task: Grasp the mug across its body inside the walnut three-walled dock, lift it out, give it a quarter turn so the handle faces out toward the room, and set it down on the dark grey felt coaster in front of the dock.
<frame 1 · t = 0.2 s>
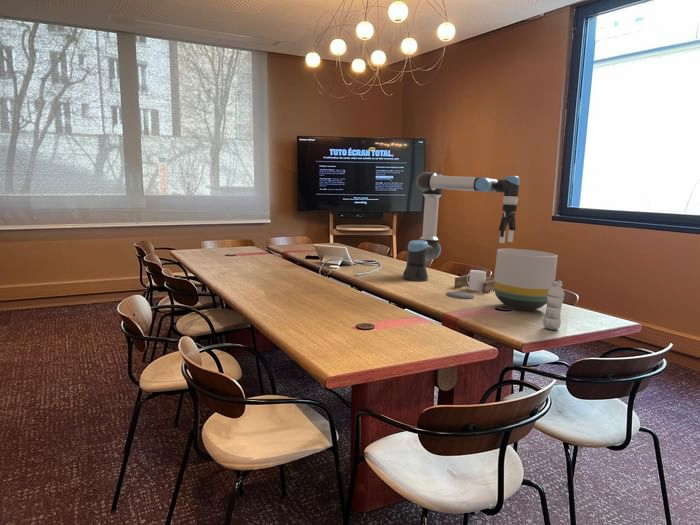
hand: (505, 242, 264), 27 cm above the table, fingers open, 13 cm apart
dock: (474, 289, 265), on the table
planter: (520, 308, 225), on the table
coaster: (460, 295, 245), on the table
plastic bottle: (551, 329, 191), on the table
mug: (474, 289, 265), on the table
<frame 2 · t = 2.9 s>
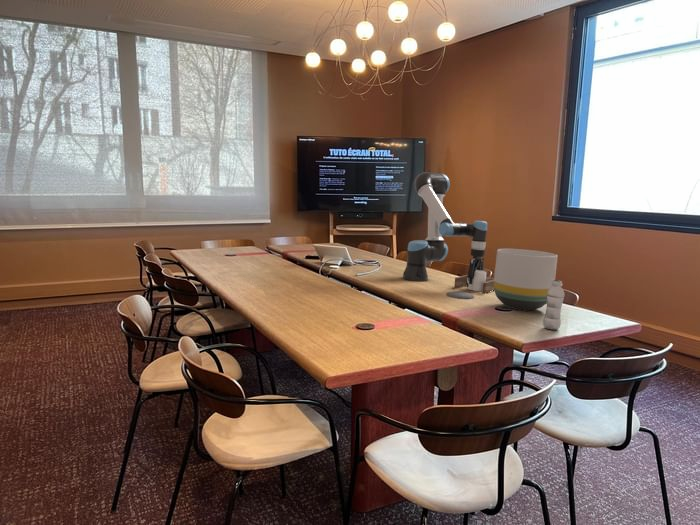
hand: (474, 288, 264), 1 cm above the table, fingers open, 9 cm apart
mug: (474, 289, 265), on the table, touching gripper
everything else where it was.
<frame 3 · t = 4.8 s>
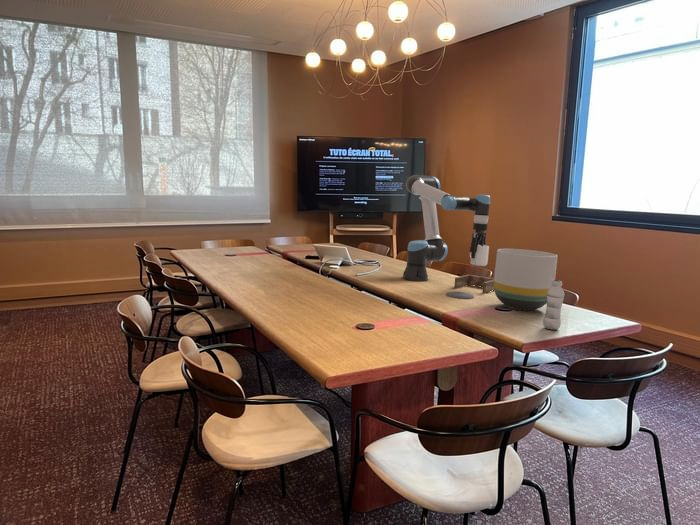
hand: (476, 263, 263), 15 cm above the table, fingers closed on mug, 9 cm apart
mug: (476, 264, 263), point 14 cm above the table, touching gripper
everything else where it was.
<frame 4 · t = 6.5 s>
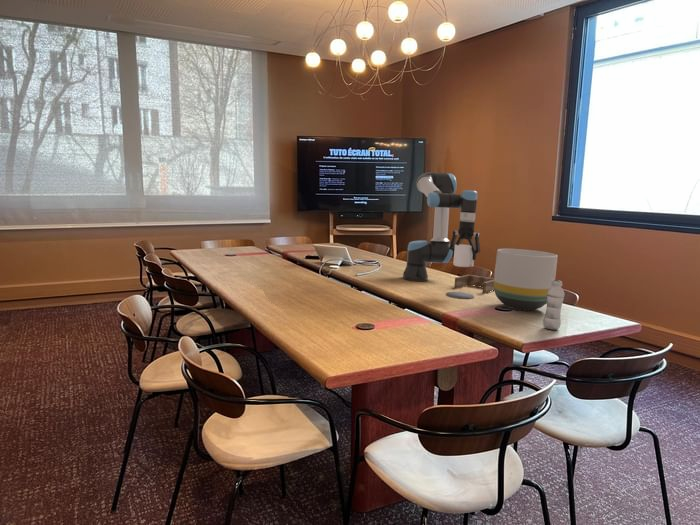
hand: (463, 264, 243), 16 cm above the table, fingers closed on mug, 9 cm apart
mug: (464, 266, 243), point 16 cm above the table, touching gripper
everything else where it was.
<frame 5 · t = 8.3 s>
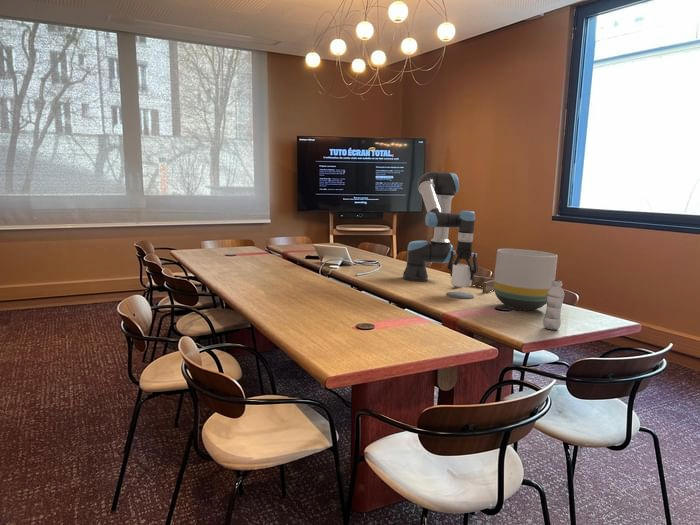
hand: (461, 284, 244), 6 cm above the table, fingers closed on mug, 9 cm apart
mug: (462, 285, 244), point 5 cm above the table, touching gripper
everything else where it was.
when the fingers open (2 cm above the table, at t = 9.6 s): mug drops 1 cm, resting on coaster.
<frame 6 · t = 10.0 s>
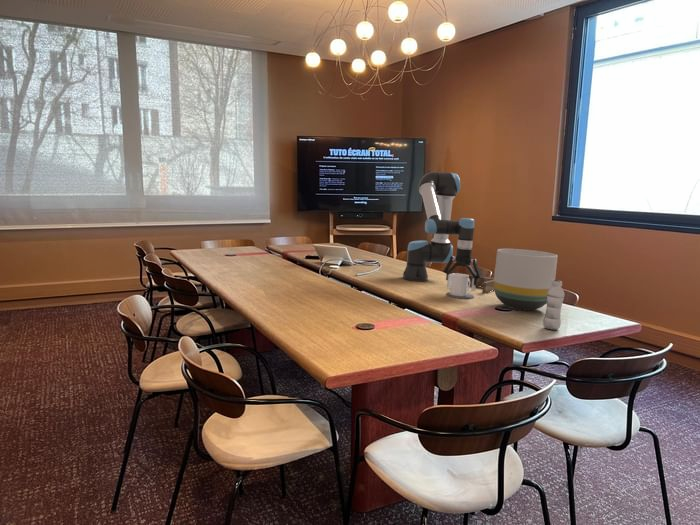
hand: (460, 288, 245), 4 cm above the table, fingers open, 13 cm apart
mug: (460, 295, 245), resting on coaster
everything else where it was.
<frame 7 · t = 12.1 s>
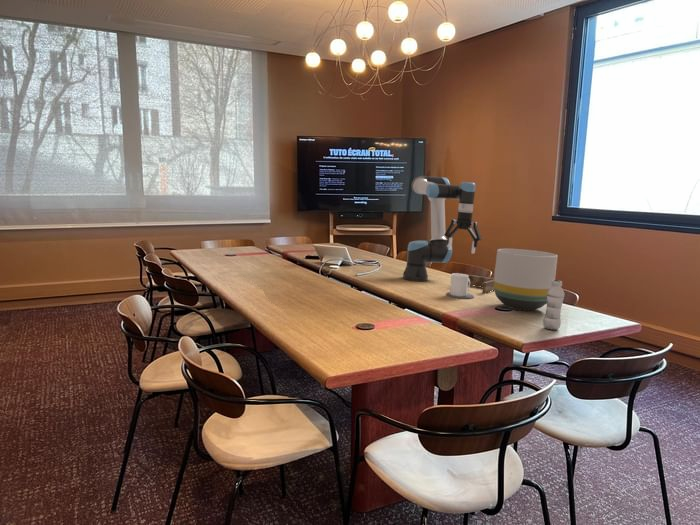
hand: (461, 251, 252), 22 cm above the table, fingers open, 13 cm apart
nothing on the table moved.
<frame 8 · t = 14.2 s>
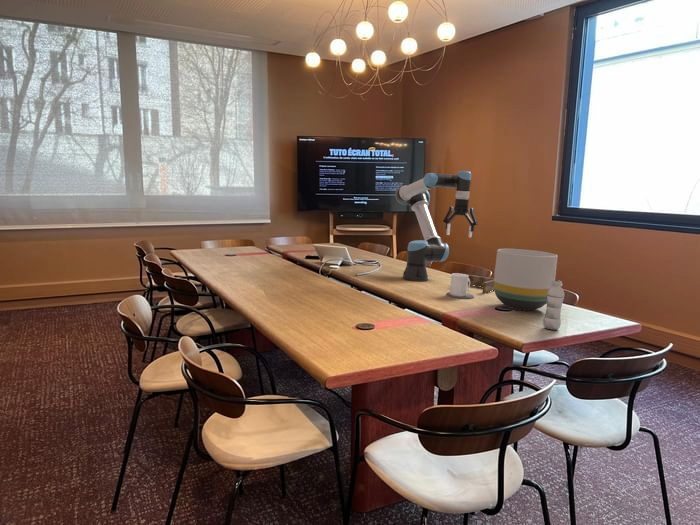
hand: (458, 236, 270), 29 cm above the table, fingers open, 13 cm apart
nothing on the table moved.
at the end: mug 0.4 cm from the coaster (horizontally); mug tilted 0°; the gripper is holding nothing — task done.
